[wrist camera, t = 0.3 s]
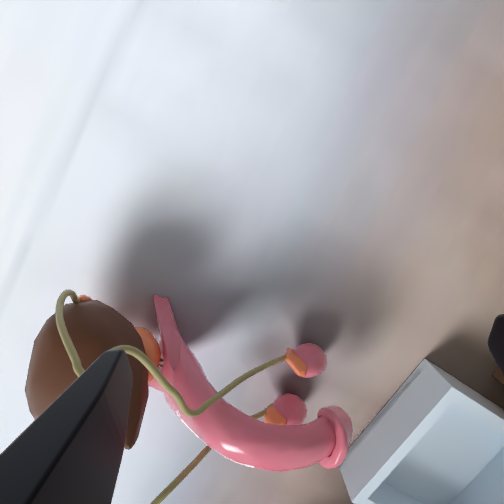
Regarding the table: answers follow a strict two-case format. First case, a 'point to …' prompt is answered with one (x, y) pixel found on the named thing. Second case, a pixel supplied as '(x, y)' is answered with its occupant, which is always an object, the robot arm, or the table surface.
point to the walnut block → (499, 375)
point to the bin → (429, 446)
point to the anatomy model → (186, 389)
